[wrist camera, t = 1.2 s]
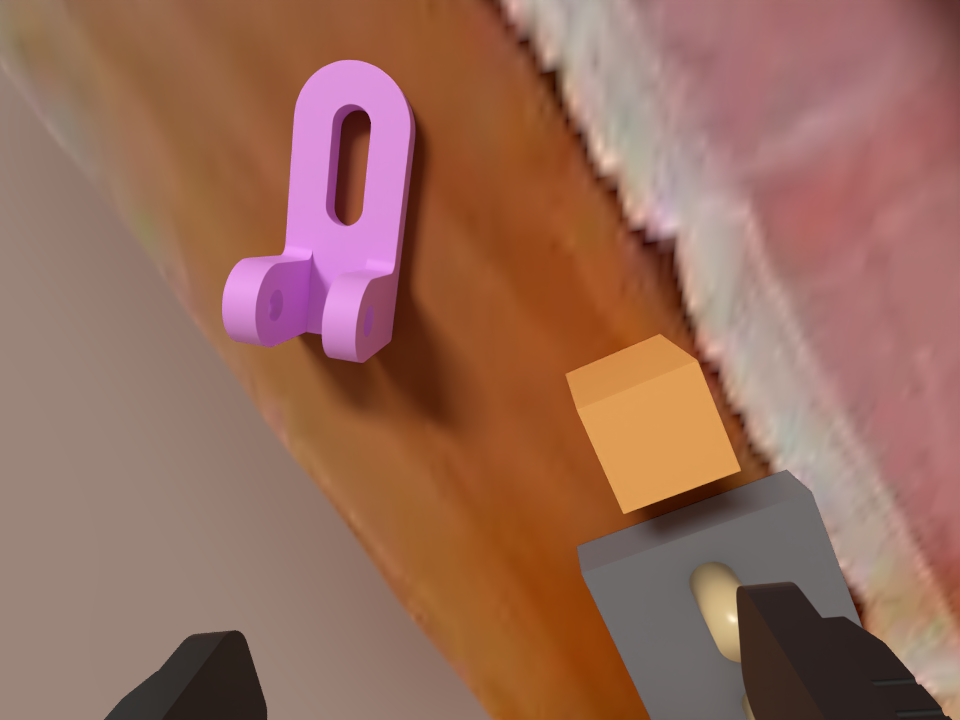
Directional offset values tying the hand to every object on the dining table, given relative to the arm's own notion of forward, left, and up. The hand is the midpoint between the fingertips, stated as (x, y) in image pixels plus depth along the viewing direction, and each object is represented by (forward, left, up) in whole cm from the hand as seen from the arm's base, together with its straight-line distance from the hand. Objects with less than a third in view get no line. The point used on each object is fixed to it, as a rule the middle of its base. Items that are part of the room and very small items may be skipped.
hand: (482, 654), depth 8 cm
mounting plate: (-5, +18, -20) cm, 28 cm away
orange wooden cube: (-5, +4, -20) cm, 21 cm away
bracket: (+4, -11, -21) cm, 24 cm away
